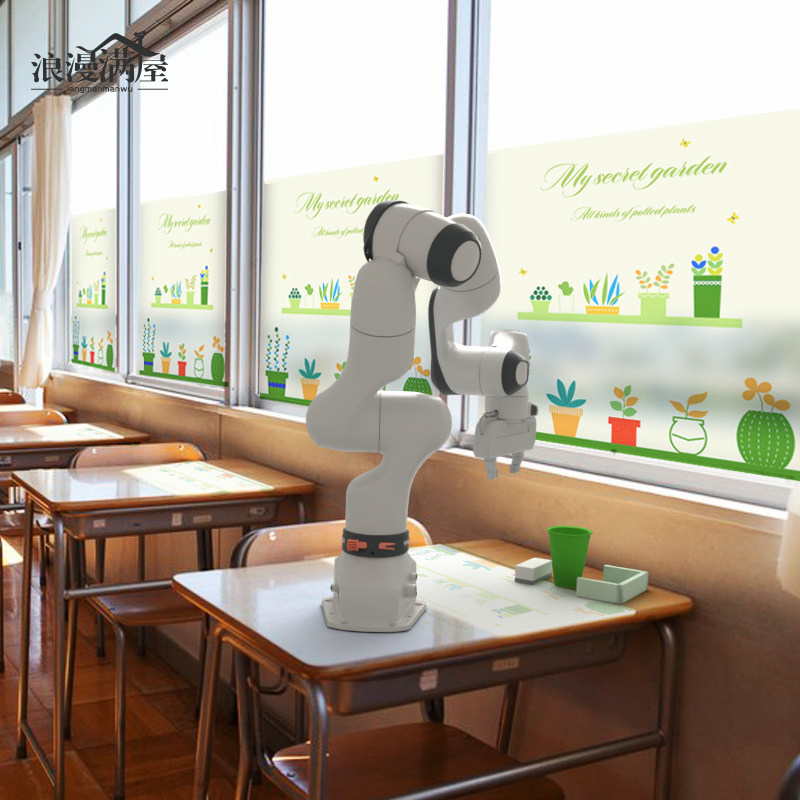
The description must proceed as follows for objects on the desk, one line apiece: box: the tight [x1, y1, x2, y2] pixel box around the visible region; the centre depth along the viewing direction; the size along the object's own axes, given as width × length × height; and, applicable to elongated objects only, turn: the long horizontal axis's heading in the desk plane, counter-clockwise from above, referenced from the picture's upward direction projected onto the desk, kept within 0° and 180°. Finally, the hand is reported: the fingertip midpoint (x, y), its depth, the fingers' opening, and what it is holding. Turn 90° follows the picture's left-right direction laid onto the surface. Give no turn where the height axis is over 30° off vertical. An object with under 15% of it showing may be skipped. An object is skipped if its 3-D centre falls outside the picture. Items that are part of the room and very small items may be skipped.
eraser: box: [514, 557, 553, 585], centre depth 212 cm, size 9×4×4 cm, turn 148°
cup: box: [546, 525, 593, 589], centre depth 208 cm, size 9×9×11 cm
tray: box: [575, 564, 649, 605], centre depth 203 cm, size 14×9×4 cm, turn 146°
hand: (503, 475), depth 215 cm, fingers open, 8 cm apart
